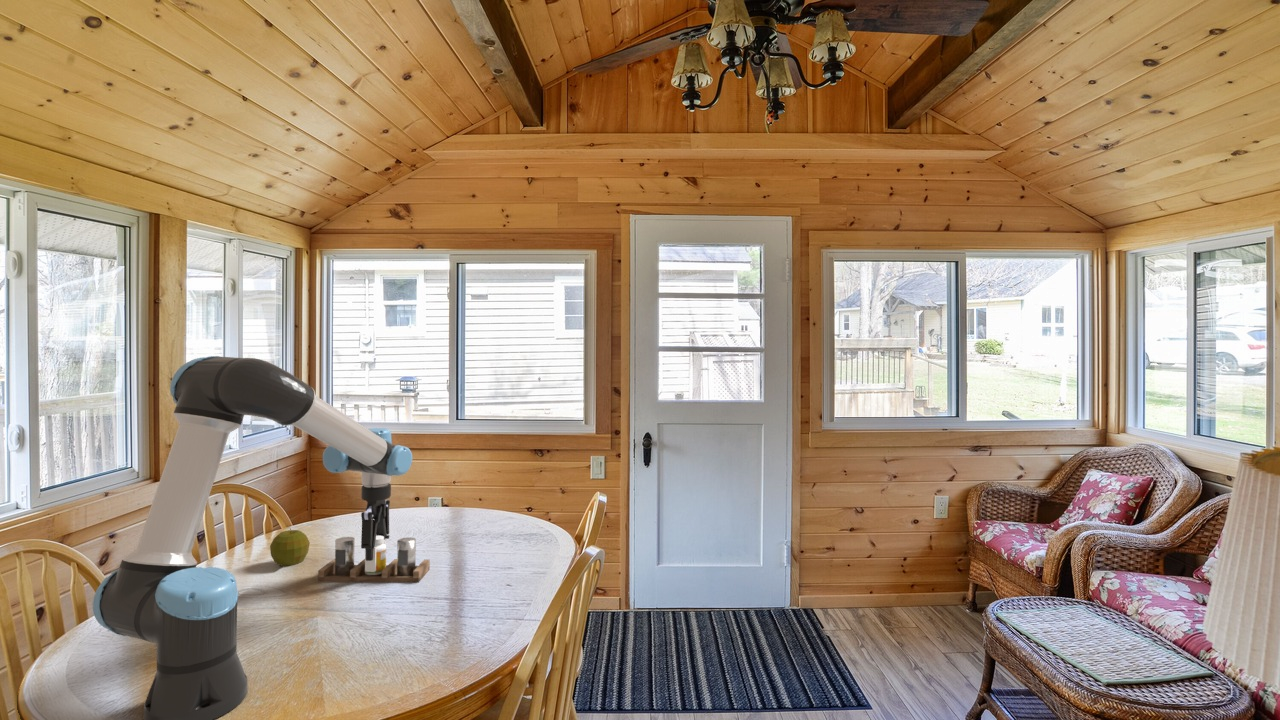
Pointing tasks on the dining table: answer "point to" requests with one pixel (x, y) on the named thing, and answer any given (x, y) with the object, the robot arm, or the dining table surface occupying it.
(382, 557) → the supplement bottle
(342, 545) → the shiny gray cylinder
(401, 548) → the glass spice jar
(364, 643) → the dining table surface
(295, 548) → the apple
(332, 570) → the wooden spice rack
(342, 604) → the dining table surface
